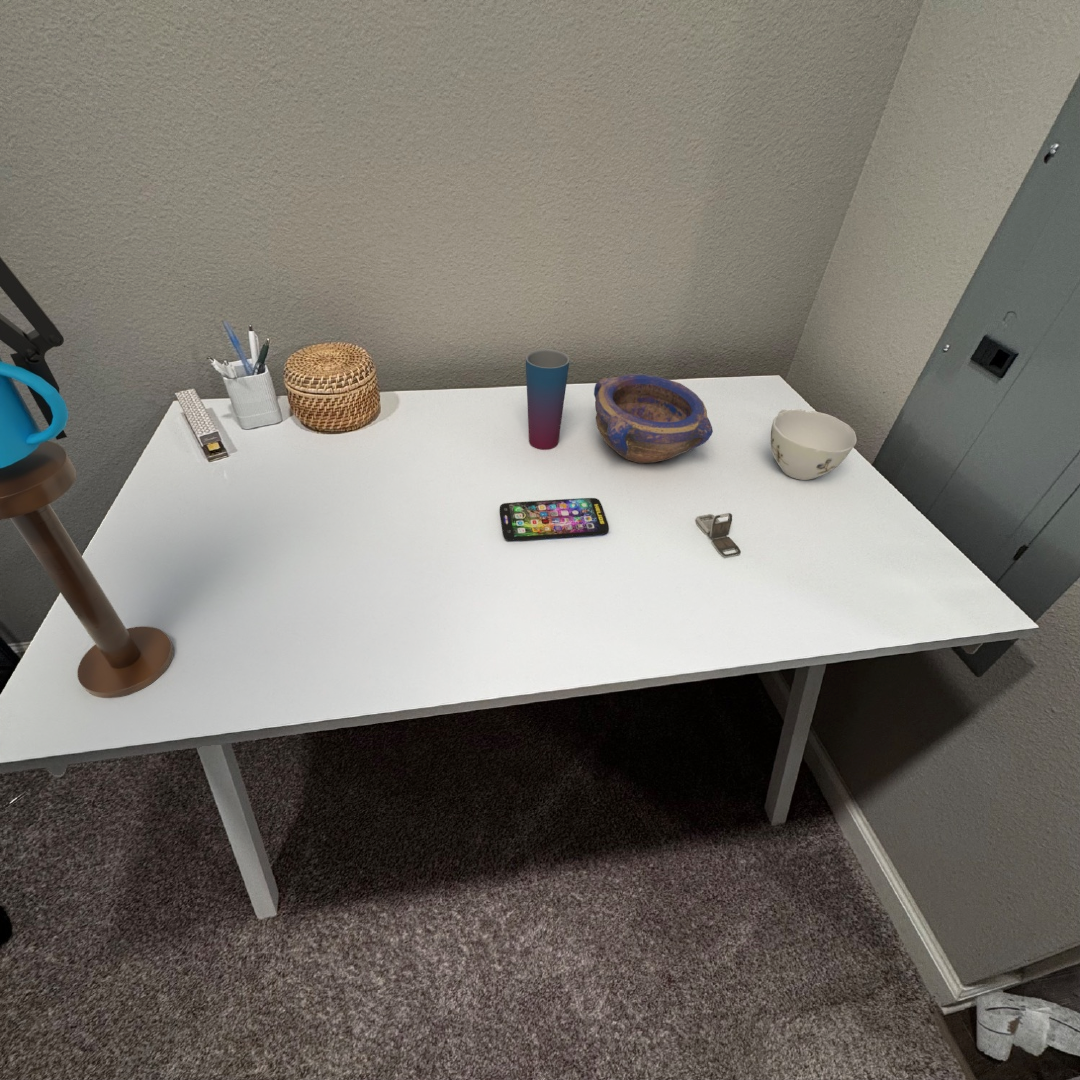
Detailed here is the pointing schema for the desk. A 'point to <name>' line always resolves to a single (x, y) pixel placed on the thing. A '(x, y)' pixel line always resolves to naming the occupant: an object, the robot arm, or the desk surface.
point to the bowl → (649, 417)
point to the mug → (25, 414)
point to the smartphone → (553, 519)
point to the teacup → (810, 442)
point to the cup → (545, 395)
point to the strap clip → (718, 532)
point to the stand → (79, 577)
